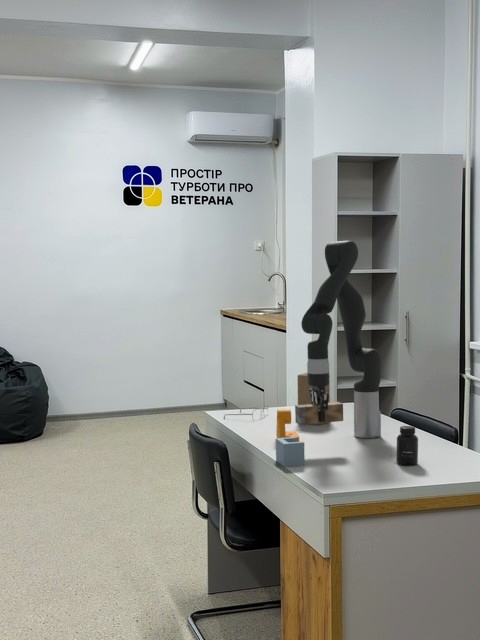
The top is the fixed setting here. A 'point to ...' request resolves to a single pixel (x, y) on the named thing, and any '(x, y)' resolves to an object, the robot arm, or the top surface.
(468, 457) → the top surface
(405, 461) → the supplement bottle
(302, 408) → the rail
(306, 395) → the wooden block
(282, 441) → the grey u-channel
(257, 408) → the eyeglasses
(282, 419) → the bracket
